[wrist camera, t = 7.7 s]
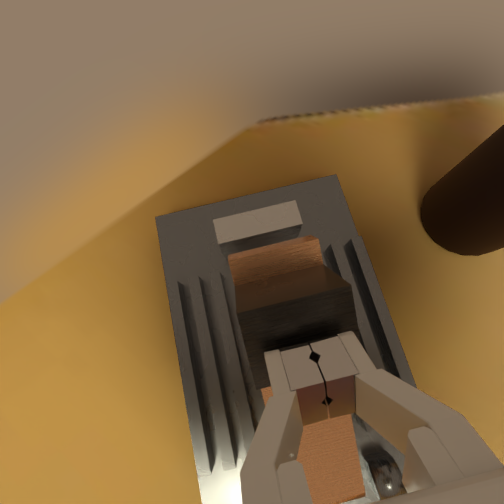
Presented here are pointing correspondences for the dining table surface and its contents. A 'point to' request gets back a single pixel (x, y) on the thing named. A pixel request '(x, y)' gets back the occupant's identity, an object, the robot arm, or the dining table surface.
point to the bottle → (470, 202)
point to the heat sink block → (229, 333)
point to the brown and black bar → (297, 332)
